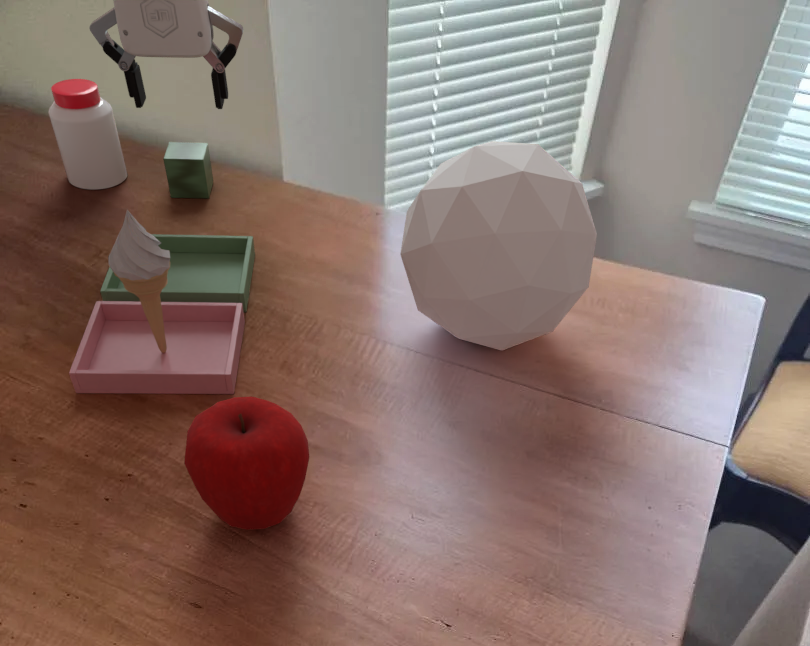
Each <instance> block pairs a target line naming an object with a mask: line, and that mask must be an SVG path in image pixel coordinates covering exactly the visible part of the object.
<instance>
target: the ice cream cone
mask: <svg viewBox="0 0 810 646" xmlns="http://www.w3.org/2000/svg"><path fill="white" fill-rule="evenodd" d="M152 234H153V233H150V232H148V231H147V229H146V228H145V226H143V224H141V223H139V221H138V220H137V219H136V218H135V216H134V215H133V214H132V213H131V212H130V211H129V209H126V212H125V216H124V220H123V224H122V226H121V228H120V230H119V233H118V234H117V237H116V239H115V242H114V244H113V246H112V248H111V251H110V252H109V254H108V266H109V267H110V268H111V269H112V271H113V272H114V274H115V276H117V277H118V278H119V279H120V280H121V281H122V283H123V285H124V287H125V289H126V290H127V291H128V292H131V293H133V294H135V295H136V296H137V297H139V299H140V302H141V305H142V307H143V310H144V313H145V315H146V318H147V320H148V322H149V325H150V328H151V330H152V332H153V335H154V337H155V340H156V342H157V345H158V348H159V350H160V351H161V352H162V353H165V352H166V349H167V346H166V340H165V331H164V323H163V313H162V306H161V299H160V293H161V291H162V289H163V288H164V287H165V286H166V285H167V283H168V279H167V274H168V270H169V268H170V251H169V250H163V249H161V248H160V247H159V246H158V245H160V244H161V242H160V241H158V240H157V239H156V238H155V237H154V236H153V235H152Z"/></svg>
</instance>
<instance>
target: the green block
mask: <svg viewBox="0 0 810 646" xmlns="http://www.w3.org/2000/svg"><path fill="white" fill-rule="evenodd" d="M210 154H211V153H210V149H209V142H190V141H189V142H188V141H187V142H186V141H182V142H181V141H168V144H167V148H166V151H165V152H164V155H163V164H164V169H165V175H166V179H167V180H166V181H167V185H168V188H169V189H168V190H169V195H170V198H172V199H173V198H175V199H176V198H179V199H210V196H211V192H212V190H213V189H212V188H213V185H214V176H213V175H214V174H213V168H212V162H211V155H210Z"/></svg>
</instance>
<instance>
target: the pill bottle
mask: <svg viewBox="0 0 810 646" xmlns="http://www.w3.org/2000/svg"><path fill="white" fill-rule="evenodd" d="M50 90H51V93H52V96H53V102H52V103H51V105H50V106H49V108H48V117H49V120H50V124H51V127H52V130H53V135H54V137H55V140H56V145H57V147H58V151H59V154H60V159H61V162H62V165H63V167H64V171H65V174H66V178H67V180H68V183H69V184H70V185H72V186H73V187H76V188H79V189H82V190H90V191H91V190H92V191H94V190H105V189H109V188H110V189H111V188H113V187H116V186H119V185H120V184H122V183H123V182H124V181H126V179H127V178H128V170H127V165H126V161H125V157H124V153H123V149H122V144H121V140H120V135H119V131H118V127H117V122H116V119H115V113H114V109H113V106H112V104H111V103H110V102H108V101H107V100H106V99H105V98H103V97H101V94H100V91H99V86H98V84H97V83H96V82H95V81H92V80H89V79H85V78H69V79H64V80H60V81H58V82H55V83H53V85H52V86H51V87H50Z"/></svg>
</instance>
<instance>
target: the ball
mask: <svg viewBox="0 0 810 646" xmlns="http://www.w3.org/2000/svg"><path fill="white" fill-rule="evenodd" d="M405 214H406V215H405V221H404V228H403V235H402V241H401V247H400V248H401V249H400V255H399V256H400V258H401V260H402V261H401V262H402V264H403V267H404V270H405V274H406V278H407V280H408V283H409V287H410V291H411V293H412V296H413V299H414V302H415V303H414V304H415V305H416V309H417V311H418V312H420V313H421V314H423V315H424V316H425V317H427V318H428V319H430V320H431V321H432V322H434V323H436V324H437V325H438V326H439V327H441V328H443V329H444V330H445V331H447V332H448V333H450V334H451V335H452V336H454V337H456V339H459V340H463V341H465V342H470V343H473V344H476V345H481V346H484V347H487V348H491V349H495V350H499V351H504V350H507V349H510V348H513V347H516V346H517V345H521V344H523V343H526V342H528V341H532V340H534V339H536V338H539V337H542V336H544V335H547V334H550V333H553V332H554V331H555V330H556V328H557V327H558V326H559V324H560V323H561V322H562V321H563V319H564V318H565V317H566V316H567V315H568V313H569V312H570V311H571V310H572V308H574V307H575V305H576V303H577V302H578V301H579V300H580V298H582V296H583V295H584V294H585V293H586V291H587V290H588V289H589V287H590V282H591V274H592V268H593V263H594V257H595V250H596V244H597V238H598V233H597V229H596V226H595V223H594V220H593V216H592V212H591V209H590V205H589V202H588V199H587V196H586V192H585V187H584V184H583V182H581V181H580V180H579V179H578V178H577V177H576V176H574V174H572V173H571V172H570V171H569V170H568V169H567V168H565V167H564V166H563V165H562V164H561V162H559V161H558V160H557V159H556V158H555V157H554V156H552V155H551V154H550V153H549V152H548V151H546V150H545V149H544V147H542V146H541V145H540V144H538V143H530V142H529V143H528V142H512V141H496V140H492V141H488V142H484V143H481V144H477V145H474V146H472V147H470V148H468V149H466V150H464V151H462V152H460V153H458V154H457V155H454V156H453V157H451V158H449V159H447V160H445V161H443V162H441V163H439V165H438V166H437V168H436V169H434V171H433V173H432V174H431V176H430V177H429V178H428V180H427V181H426V182H425V184H424V185H423V186H422V188H420V190H419V191H418V194H416V196H415V198H414V199H413V201H412V203H411V204H410V206H409V207H408V208H407V210H406V213H405Z"/></svg>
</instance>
